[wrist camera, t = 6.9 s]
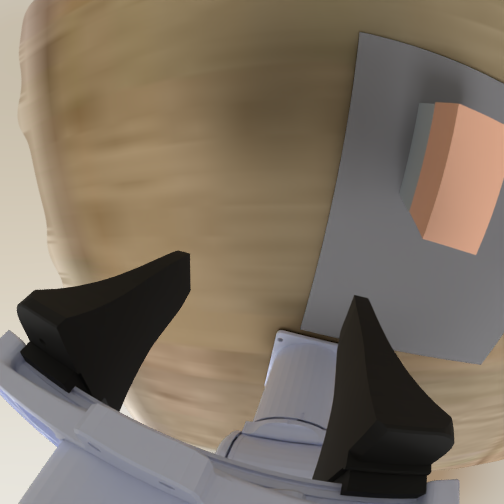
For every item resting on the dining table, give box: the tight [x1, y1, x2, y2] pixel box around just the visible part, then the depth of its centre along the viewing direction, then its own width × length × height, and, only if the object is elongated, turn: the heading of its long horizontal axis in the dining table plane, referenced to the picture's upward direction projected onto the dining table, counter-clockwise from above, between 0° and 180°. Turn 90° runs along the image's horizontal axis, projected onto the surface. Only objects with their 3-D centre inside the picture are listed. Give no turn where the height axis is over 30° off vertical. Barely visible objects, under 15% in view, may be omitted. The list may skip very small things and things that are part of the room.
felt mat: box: [300, 32, 504, 365], centre depth 18 cm, size 24×20×1 cm
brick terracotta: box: [409, 102, 504, 255], centre depth 12 cm, size 6×3×4 cm, turn 174°
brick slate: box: [399, 103, 435, 213], centre depth 15 cm, size 6×3×4 cm, turn 174°
